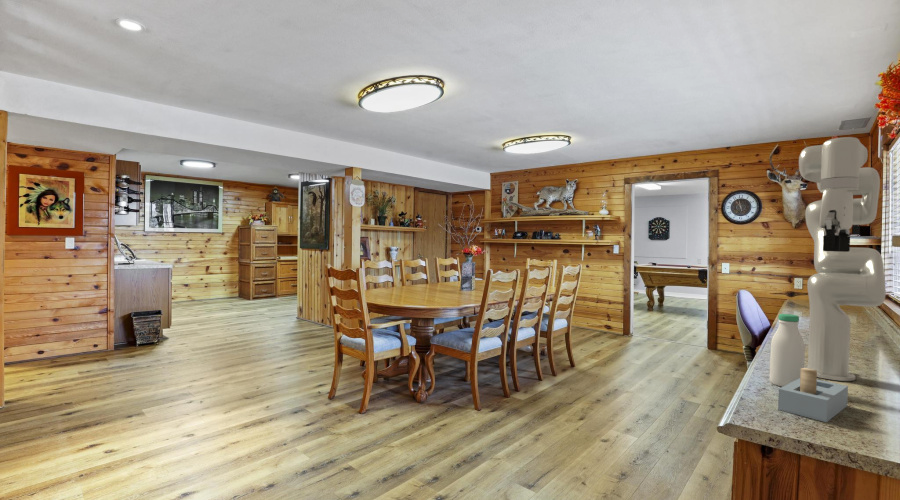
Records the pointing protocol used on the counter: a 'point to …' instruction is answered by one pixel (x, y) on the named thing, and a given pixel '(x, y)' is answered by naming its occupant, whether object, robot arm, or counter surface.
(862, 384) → the counter surface
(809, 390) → the peg
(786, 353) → the milk bottle
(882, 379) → the counter surface
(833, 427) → the counter surface
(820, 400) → the hole block
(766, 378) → the counter surface
